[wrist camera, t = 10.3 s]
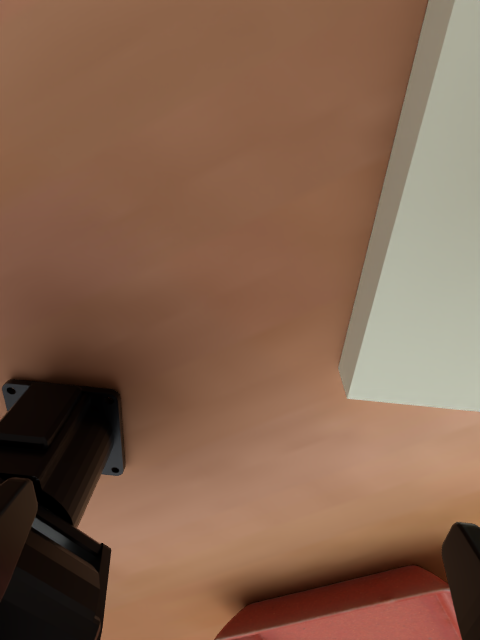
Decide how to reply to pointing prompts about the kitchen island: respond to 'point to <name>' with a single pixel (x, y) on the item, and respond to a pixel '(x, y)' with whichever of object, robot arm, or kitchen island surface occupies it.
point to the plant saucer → (355, 611)
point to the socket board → (426, 234)
